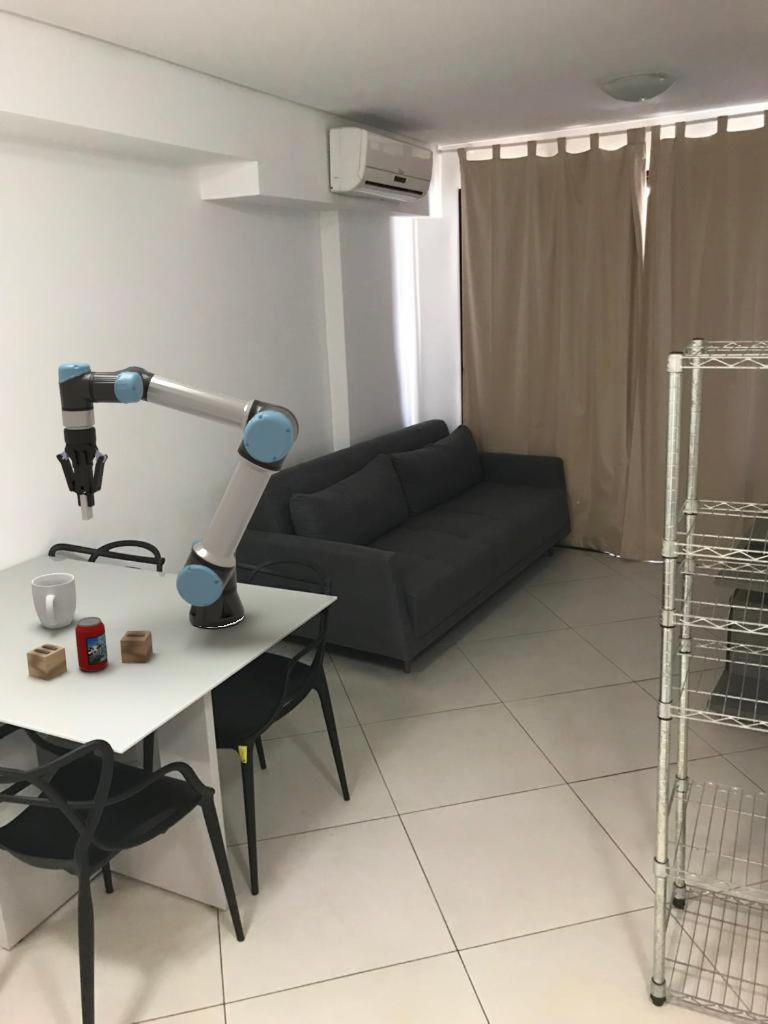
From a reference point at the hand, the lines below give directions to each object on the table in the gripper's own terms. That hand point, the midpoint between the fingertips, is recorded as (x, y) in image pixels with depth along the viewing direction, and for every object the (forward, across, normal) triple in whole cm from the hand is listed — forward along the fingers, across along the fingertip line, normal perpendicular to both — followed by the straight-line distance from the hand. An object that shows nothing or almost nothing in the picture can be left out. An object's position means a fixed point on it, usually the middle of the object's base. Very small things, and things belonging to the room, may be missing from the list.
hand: (87, 518), depth 212 cm
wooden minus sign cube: (+33, -16, +10) cm, 38 cm away
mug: (+33, +15, -5) cm, 36 cm away
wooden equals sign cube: (+33, +1, +22) cm, 39 cm away
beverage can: (+33, -8, +17) cm, 38 cm away
